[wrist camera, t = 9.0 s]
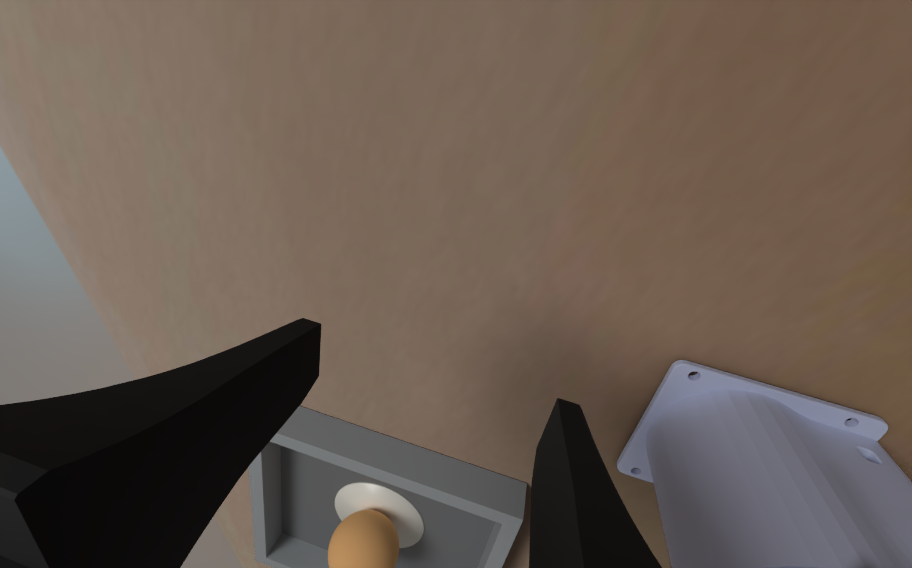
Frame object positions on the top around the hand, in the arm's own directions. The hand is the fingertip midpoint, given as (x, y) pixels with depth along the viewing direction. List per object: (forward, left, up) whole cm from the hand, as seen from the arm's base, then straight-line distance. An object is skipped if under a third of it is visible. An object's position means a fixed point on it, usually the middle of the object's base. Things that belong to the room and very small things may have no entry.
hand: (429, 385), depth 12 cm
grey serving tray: (+3, +22, -9) cm, 24 cm away
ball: (+3, +22, -6) cm, 23 cm away
